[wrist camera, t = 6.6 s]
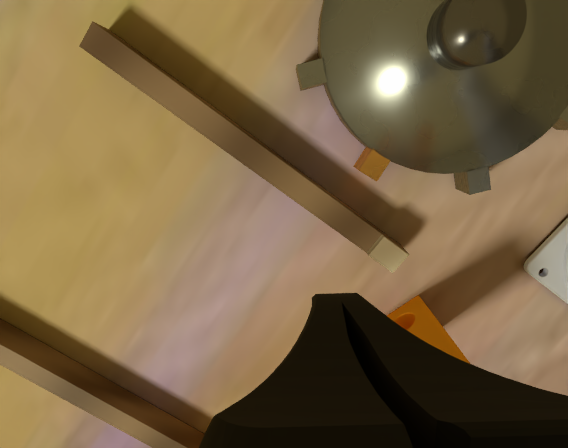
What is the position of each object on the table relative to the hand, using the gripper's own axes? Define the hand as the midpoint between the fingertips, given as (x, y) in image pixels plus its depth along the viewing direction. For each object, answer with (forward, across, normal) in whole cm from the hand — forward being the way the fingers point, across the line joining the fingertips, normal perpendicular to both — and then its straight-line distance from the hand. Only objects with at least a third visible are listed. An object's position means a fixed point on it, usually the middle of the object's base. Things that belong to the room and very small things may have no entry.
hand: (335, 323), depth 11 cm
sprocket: (+9, -6, -9) cm, 14 cm away
